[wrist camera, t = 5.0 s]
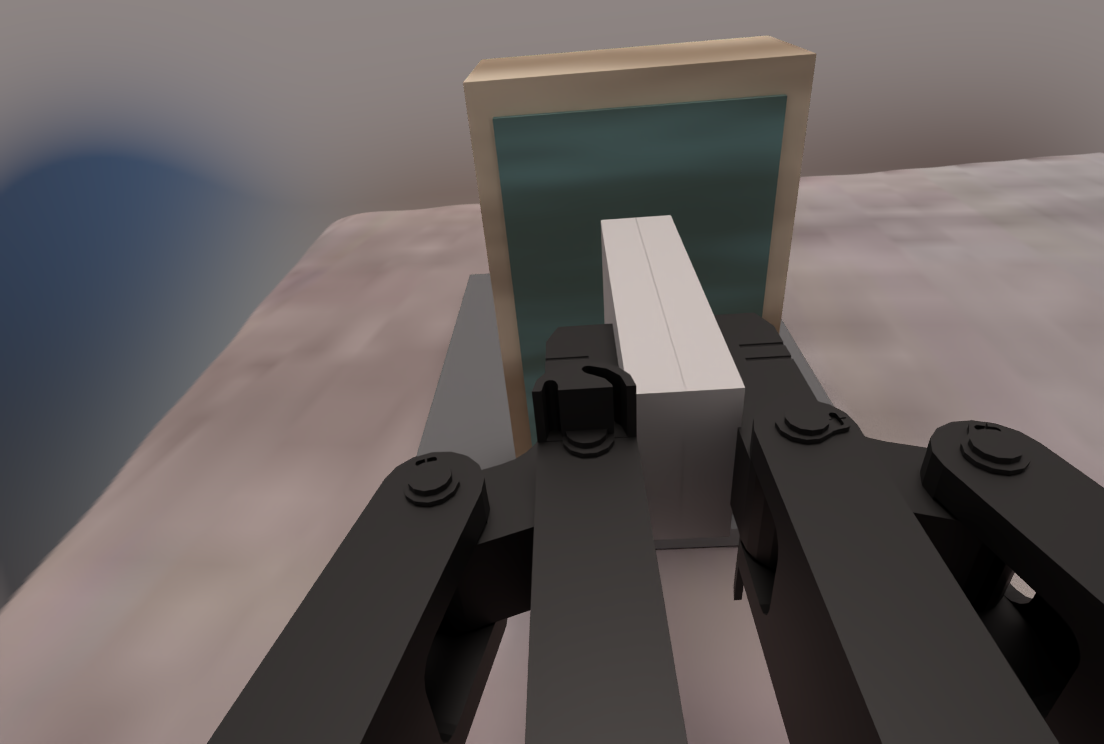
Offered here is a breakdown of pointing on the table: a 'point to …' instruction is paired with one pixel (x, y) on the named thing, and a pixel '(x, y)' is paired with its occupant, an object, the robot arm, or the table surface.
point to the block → (633, 179)
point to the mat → (482, 406)
